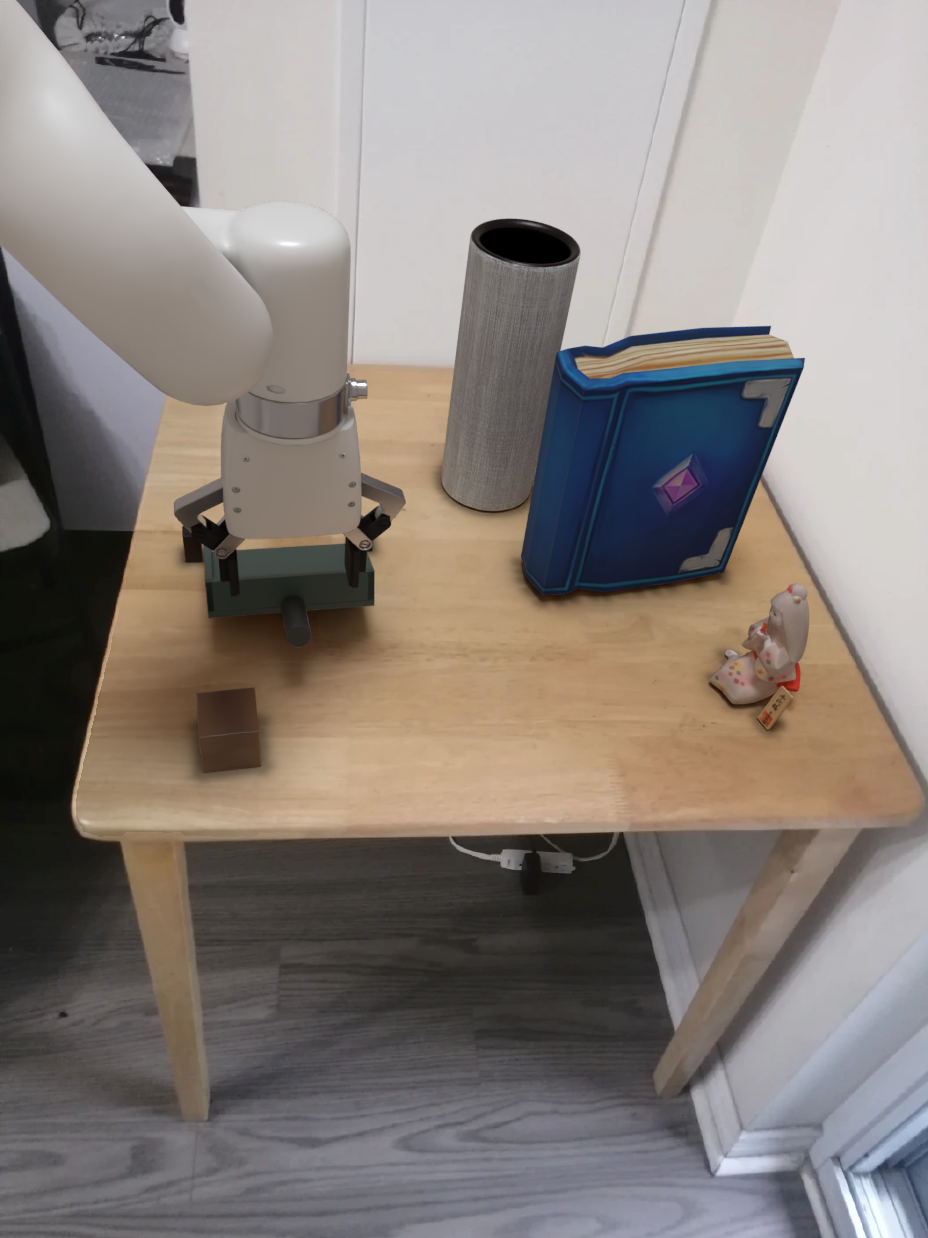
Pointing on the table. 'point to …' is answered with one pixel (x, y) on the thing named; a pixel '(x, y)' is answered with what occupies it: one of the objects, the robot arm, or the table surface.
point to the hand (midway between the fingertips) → (293, 580)
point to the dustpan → (287, 585)
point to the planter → (506, 359)
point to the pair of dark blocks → (199, 547)
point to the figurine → (769, 657)
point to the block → (228, 729)
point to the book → (653, 456)
